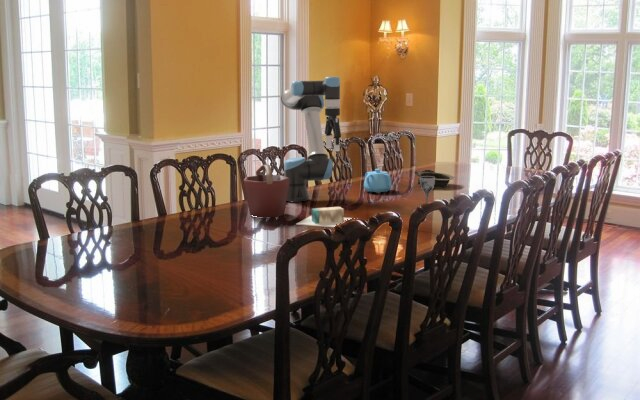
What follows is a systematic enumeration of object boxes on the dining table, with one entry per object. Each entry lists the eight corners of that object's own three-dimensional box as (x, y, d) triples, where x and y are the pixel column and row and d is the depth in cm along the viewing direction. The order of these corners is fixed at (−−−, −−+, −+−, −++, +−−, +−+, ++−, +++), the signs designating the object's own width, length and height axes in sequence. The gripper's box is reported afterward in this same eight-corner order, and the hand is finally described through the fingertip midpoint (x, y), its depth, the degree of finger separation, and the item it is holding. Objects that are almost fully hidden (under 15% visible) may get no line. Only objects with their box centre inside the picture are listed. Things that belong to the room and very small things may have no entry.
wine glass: (434, 206, 356) (434, 178, 354) (418, 206, 358) (419, 178, 355) (434, 204, 364) (435, 176, 361) (419, 203, 366) (420, 175, 363)
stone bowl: (407, 183, 427) (408, 169, 426) (444, 184, 434) (445, 170, 432) (422, 189, 404) (424, 174, 402) (461, 190, 410) (462, 175, 409)
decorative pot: (364, 189, 411) (364, 167, 409) (391, 189, 409) (391, 166, 407) (363, 194, 395) (363, 171, 393) (391, 194, 393) (391, 171, 391)
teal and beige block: (343, 221, 323) (315, 223, 319) (339, 218, 329) (311, 220, 325) (343, 209, 322) (315, 210, 318) (339, 206, 328) (311, 208, 324)
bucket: (248, 210, 354) (246, 162, 349) (290, 209, 354) (290, 161, 349) (243, 220, 330) (241, 169, 325) (289, 219, 330) (288, 168, 325)
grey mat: (296, 224, 319) (296, 223, 319) (311, 215, 338) (311, 215, 338) (344, 228, 311) (344, 227, 311) (358, 219, 329) (358, 218, 329)
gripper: (347, 108, 334) (347, 152, 338) (332, 106, 358) (332, 146, 362) (332, 109, 332) (332, 152, 336) (318, 106, 356) (318, 147, 360)
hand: (332, 149), depth 349 cm, fingers open, 13 cm apart
